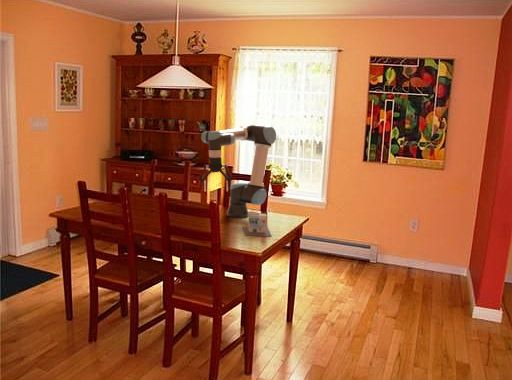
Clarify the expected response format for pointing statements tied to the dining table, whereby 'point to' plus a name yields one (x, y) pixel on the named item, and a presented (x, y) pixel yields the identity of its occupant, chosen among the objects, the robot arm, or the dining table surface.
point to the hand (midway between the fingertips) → (216, 191)
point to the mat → (256, 233)
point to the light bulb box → (257, 223)
